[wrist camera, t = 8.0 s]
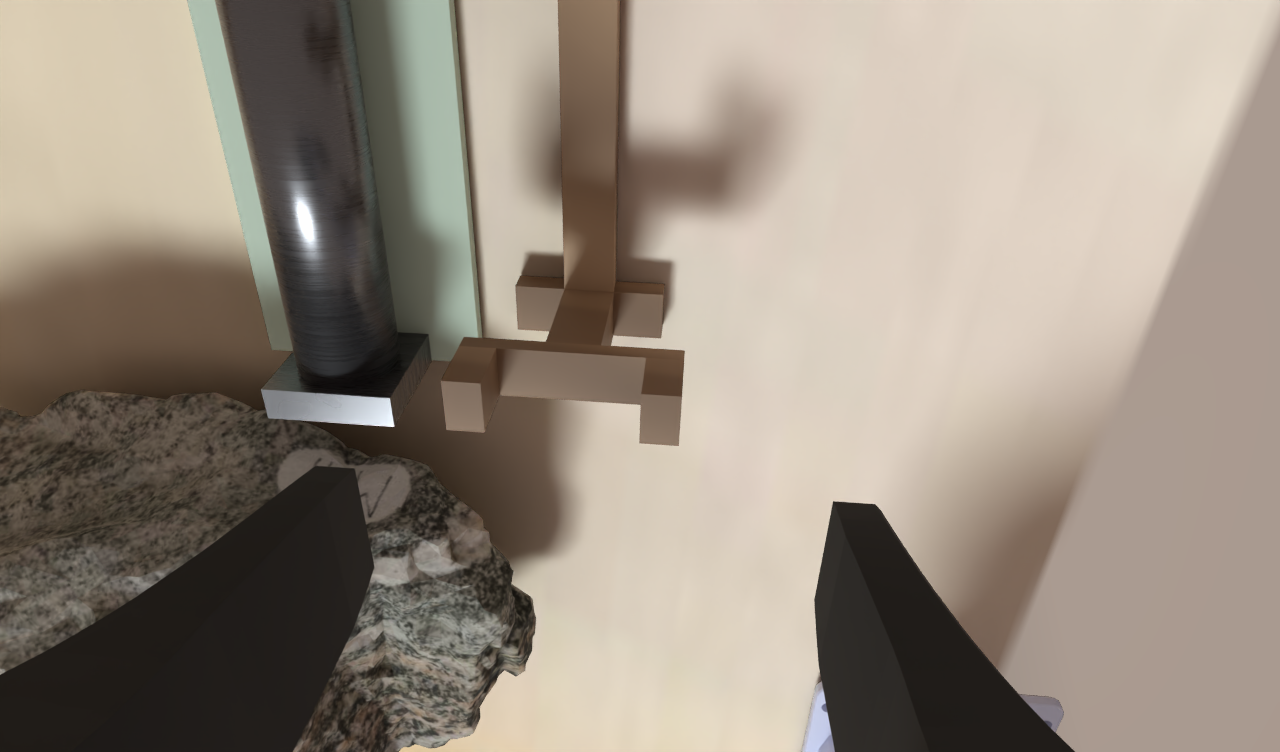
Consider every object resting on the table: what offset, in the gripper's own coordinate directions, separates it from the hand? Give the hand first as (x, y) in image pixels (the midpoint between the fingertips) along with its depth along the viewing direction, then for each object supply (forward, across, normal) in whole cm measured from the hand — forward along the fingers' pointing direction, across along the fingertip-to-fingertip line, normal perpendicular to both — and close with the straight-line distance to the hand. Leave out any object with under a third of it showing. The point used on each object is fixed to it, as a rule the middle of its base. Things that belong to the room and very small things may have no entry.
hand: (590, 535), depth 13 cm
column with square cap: (+9, +7, -4) cm, 12 cm away
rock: (+10, +12, +9) cm, 18 cm away
